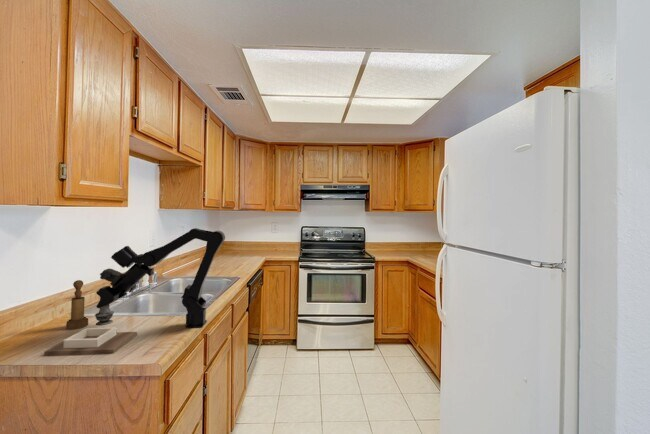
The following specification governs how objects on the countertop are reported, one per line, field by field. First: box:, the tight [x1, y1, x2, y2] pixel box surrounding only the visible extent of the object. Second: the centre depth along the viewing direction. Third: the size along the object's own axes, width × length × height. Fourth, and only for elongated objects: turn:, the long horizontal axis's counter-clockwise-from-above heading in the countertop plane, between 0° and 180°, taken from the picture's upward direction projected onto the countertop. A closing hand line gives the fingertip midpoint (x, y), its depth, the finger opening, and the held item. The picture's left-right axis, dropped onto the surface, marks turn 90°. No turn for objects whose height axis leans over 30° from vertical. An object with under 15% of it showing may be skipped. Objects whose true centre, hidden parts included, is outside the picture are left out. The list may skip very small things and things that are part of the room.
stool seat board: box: [43, 327, 138, 356], centre depth 97 cm, size 20×14×4 cm
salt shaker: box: [94, 296, 115, 326], centre depth 109 cm, size 6×6×12 cm
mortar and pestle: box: [65, 279, 89, 330], centre depth 112 cm, size 7×6×18 cm
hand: (100, 305), depth 109 cm, fingers closed on salt shaker, 4 cm apart
